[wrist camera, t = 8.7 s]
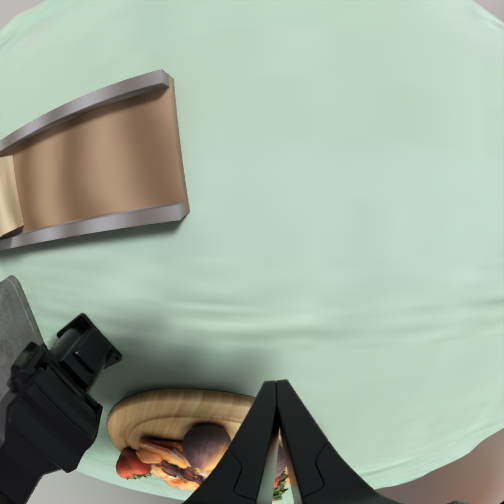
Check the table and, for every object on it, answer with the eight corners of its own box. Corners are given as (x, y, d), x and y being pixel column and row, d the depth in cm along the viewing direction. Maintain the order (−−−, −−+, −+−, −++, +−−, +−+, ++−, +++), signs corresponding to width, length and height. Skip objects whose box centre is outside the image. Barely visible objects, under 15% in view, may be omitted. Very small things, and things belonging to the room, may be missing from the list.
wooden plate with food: (131, 465, 38) (122, 497, 30) (87, 356, 27) (57, 406, 19) (293, 485, 39) (296, 518, 32) (359, 391, 28) (378, 446, 20)
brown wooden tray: (173, 78, 17) (156, 65, 13) (189, 211, 21) (176, 223, 17) (-32, 172, 19) (-52, 178, 15) (-18, 249, 22) (-36, 260, 19)
